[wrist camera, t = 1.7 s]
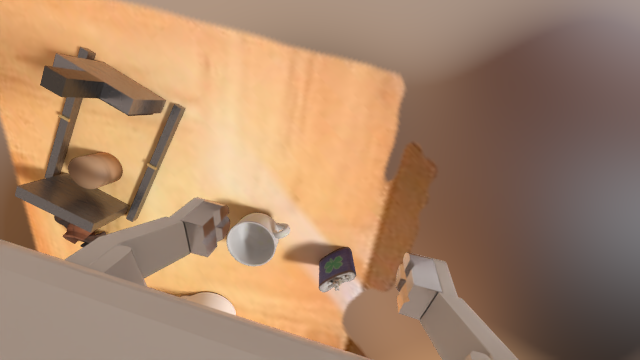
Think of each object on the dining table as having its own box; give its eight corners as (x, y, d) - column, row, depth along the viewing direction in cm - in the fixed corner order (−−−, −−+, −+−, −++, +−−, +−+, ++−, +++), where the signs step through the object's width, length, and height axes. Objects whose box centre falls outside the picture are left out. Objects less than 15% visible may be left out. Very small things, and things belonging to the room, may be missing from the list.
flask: (322, 267, 60) (322, 300, 50) (316, 259, 59) (315, 291, 49) (353, 252, 59) (359, 283, 48) (347, 244, 58) (352, 273, 48)
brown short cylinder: (117, 187, 54) (97, 195, 49) (88, 171, 53) (64, 178, 48) (126, 162, 52) (107, 168, 47) (96, 146, 51) (73, 150, 46)
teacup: (244, 247, 59) (233, 269, 51) (233, 209, 55) (219, 226, 48) (298, 241, 58) (294, 261, 50) (290, 202, 54) (284, 218, 47)
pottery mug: (131, 216, 57) (105, 247, 52) (124, 226, 63) (100, 255, 57) (74, 190, 52) (38, 221, 46) (73, 204, 57) (41, 233, 52)
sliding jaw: (159, 115, 48) (94, 119, 34) (98, 79, 46) (2, 68, 32) (166, 100, 47) (101, 98, 33) (103, 62, 45) (7, 43, 31)
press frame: (138, 219, 57) (104, 239, 48) (51, 174, 53) (-2, 188, 45) (186, 109, 48) (156, 110, 40) (86, 48, 45) (31, 34, 36)
